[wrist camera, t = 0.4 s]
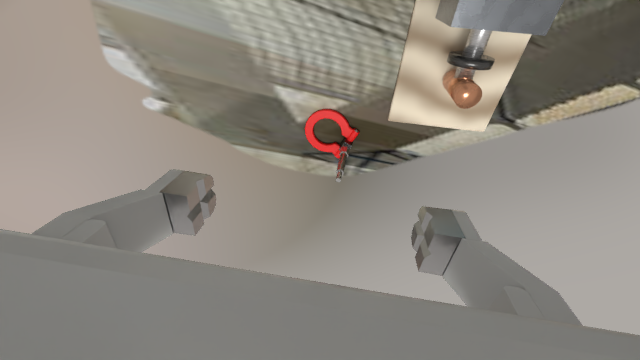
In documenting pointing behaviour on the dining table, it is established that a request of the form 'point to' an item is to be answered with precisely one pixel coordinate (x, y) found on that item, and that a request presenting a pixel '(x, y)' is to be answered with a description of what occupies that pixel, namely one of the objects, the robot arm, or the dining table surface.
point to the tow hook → (335, 148)
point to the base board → (431, 67)
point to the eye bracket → (500, 15)
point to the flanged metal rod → (468, 69)
